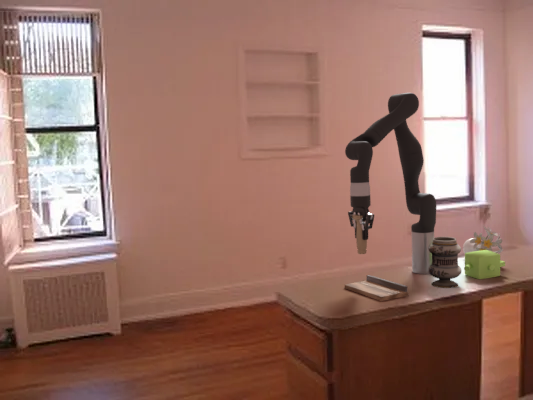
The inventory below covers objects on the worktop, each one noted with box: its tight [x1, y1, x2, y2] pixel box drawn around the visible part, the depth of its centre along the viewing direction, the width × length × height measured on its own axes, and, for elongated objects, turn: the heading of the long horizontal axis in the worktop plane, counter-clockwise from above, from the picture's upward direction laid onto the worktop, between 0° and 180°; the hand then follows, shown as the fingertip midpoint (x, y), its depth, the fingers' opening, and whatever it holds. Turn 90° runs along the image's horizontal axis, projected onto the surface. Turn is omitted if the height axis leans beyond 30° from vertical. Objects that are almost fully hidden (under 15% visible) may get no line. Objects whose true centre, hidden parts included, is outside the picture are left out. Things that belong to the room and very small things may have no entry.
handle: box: [352, 215, 368, 255], centre depth 214 cm, size 5×6×15 cm
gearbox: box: [463, 250, 506, 280], centre depth 224 cm, size 18×10×10 cm, turn 108°
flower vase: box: [462, 225, 504, 254], centre depth 249 cm, size 13×18×25 cm
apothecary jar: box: [428, 236, 462, 289], centre depth 213 cm, size 12×12×18 cm
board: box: [344, 274, 409, 302], centre depth 208 cm, size 12×22×4 cm, turn 28°
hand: (361, 238), depth 214 cm, fingers closed on handle, 4 cm apart
